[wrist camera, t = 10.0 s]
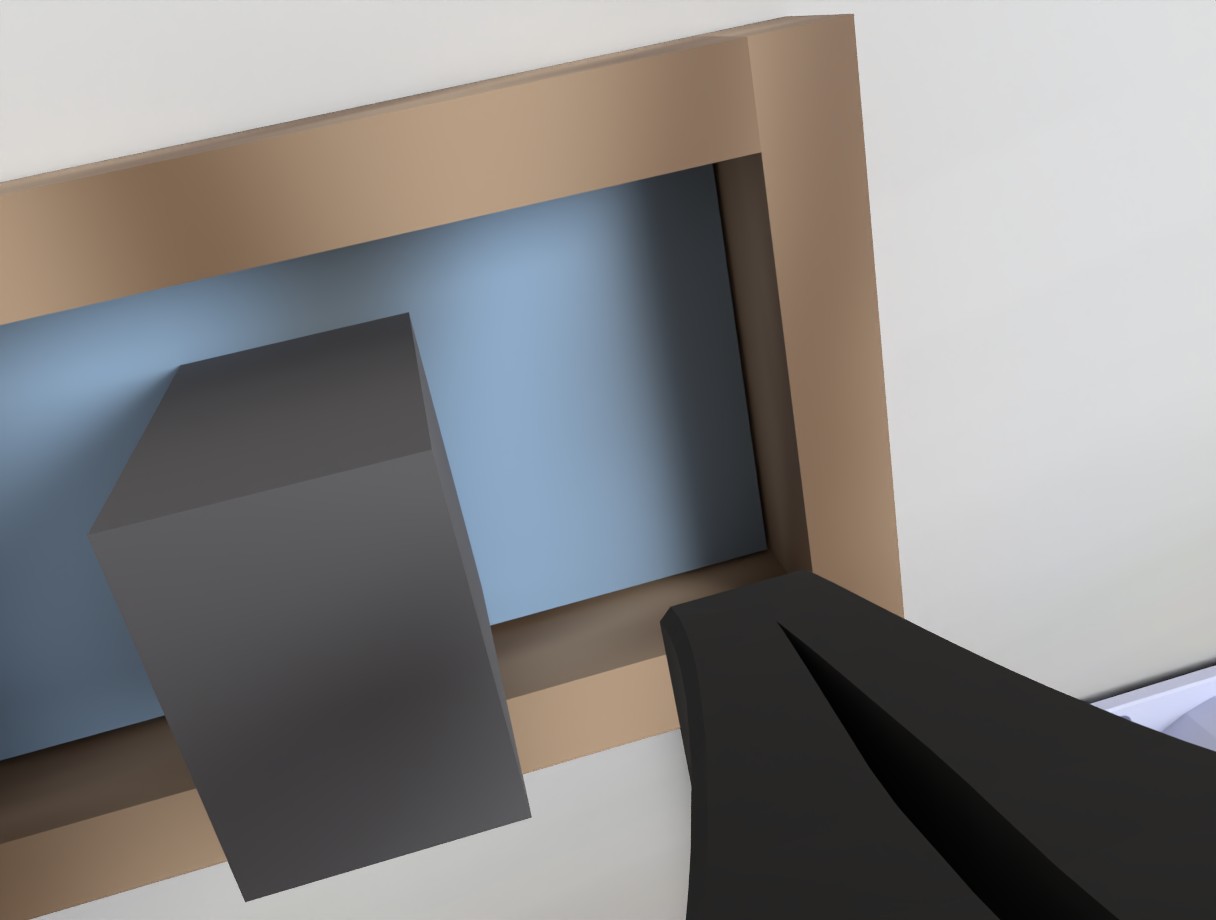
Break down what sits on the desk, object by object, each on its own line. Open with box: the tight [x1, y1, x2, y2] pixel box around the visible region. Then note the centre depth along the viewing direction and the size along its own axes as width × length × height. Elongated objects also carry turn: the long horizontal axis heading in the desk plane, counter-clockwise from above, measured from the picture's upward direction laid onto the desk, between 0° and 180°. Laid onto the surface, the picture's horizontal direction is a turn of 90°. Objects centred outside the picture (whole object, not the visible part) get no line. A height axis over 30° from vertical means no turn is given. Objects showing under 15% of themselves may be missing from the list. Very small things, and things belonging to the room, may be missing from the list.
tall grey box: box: [87, 312, 531, 902], centre depth 15 cm, size 4×5×6 cm
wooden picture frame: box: [0, 14, 904, 920], centre depth 18 cm, size 17×20×2 cm
